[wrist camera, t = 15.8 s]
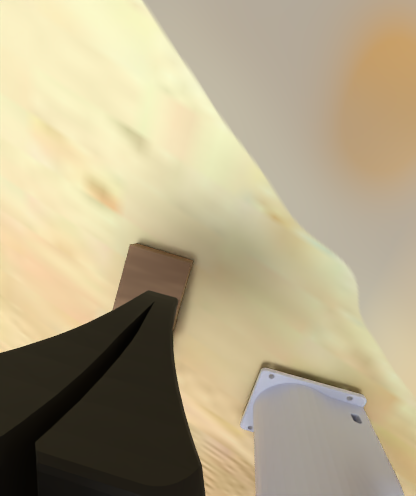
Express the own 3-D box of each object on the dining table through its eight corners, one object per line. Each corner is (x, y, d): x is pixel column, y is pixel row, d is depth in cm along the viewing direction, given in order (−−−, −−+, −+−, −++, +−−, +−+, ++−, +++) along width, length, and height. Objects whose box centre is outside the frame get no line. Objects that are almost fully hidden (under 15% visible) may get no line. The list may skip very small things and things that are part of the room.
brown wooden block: (129, 244, 19) (104, 338, 20) (190, 263, 19) (163, 357, 20) (137, 243, 21) (113, 330, 22) (193, 260, 21) (167, 347, 21)
